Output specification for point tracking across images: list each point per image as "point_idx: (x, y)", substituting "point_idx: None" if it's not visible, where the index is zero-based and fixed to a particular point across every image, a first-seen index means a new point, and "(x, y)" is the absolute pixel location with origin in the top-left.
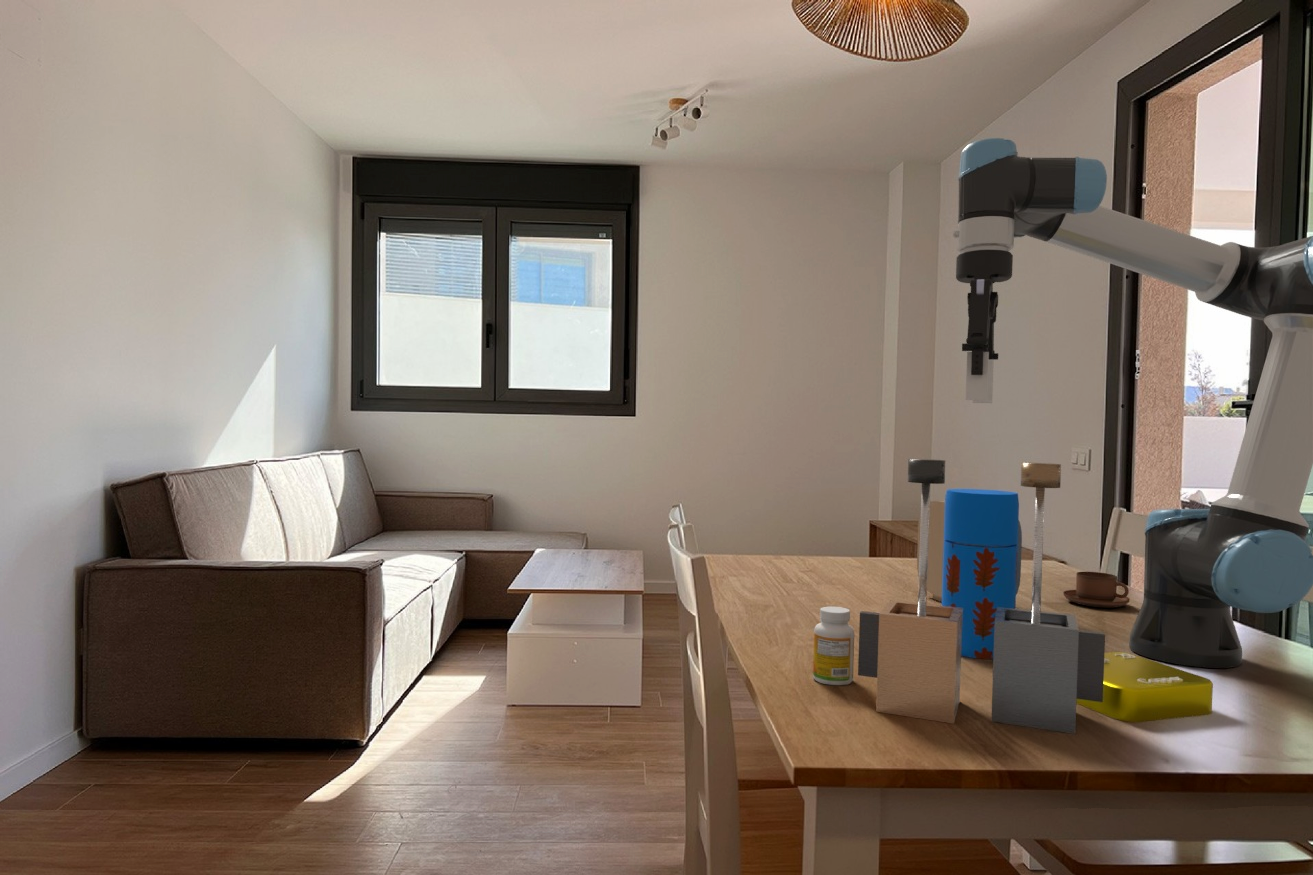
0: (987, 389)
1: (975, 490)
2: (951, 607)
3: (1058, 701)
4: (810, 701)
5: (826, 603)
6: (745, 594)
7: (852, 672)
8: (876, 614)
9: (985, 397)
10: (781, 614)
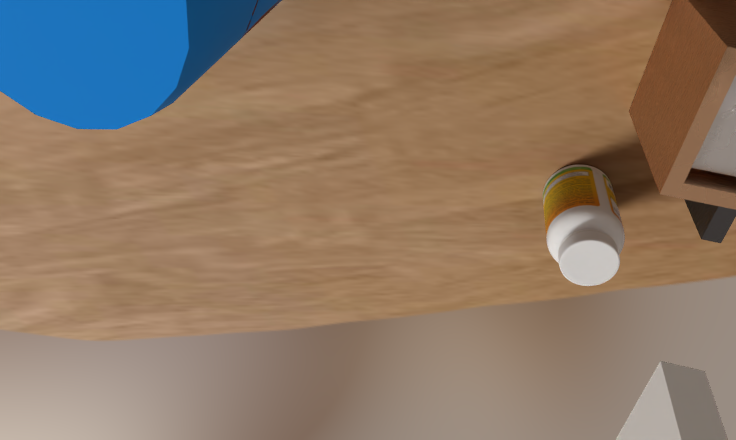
0: (689, 432)
1: (12, 21)
2: (725, 72)
3: None
4: None
5: (20, 188)
6: (43, 313)
7: (593, 173)
8: (734, 215)
9: (702, 393)
10: (161, 261)
